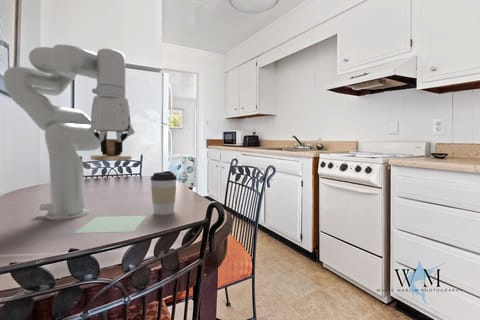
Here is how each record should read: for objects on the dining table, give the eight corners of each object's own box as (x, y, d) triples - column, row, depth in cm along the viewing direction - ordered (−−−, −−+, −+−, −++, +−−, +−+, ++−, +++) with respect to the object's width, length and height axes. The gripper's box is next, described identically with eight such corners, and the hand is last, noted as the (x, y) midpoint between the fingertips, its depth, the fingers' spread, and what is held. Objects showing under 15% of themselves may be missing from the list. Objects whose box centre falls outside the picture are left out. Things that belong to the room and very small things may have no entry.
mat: (72, 234, 71) (72, 233, 71) (97, 217, 87) (97, 216, 87) (133, 232, 73) (133, 231, 73) (146, 216, 89) (146, 215, 89)
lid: (84, 160, 72) (83, 138, 72) (99, 157, 83) (99, 138, 83) (125, 160, 74) (125, 139, 73) (135, 158, 85) (135, 139, 84)
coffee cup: (169, 217, 88) (169, 173, 87) (145, 216, 90) (145, 173, 89) (180, 211, 97) (180, 171, 96) (158, 209, 98) (158, 170, 98)
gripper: (75, 89, 72) (76, 155, 74) (136, 92, 75) (136, 156, 76) (88, 94, 80) (88, 153, 81) (143, 97, 82) (142, 154, 83)
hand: (111, 154), depth 78 cm, fingers closed on lid, 3 cm apart
